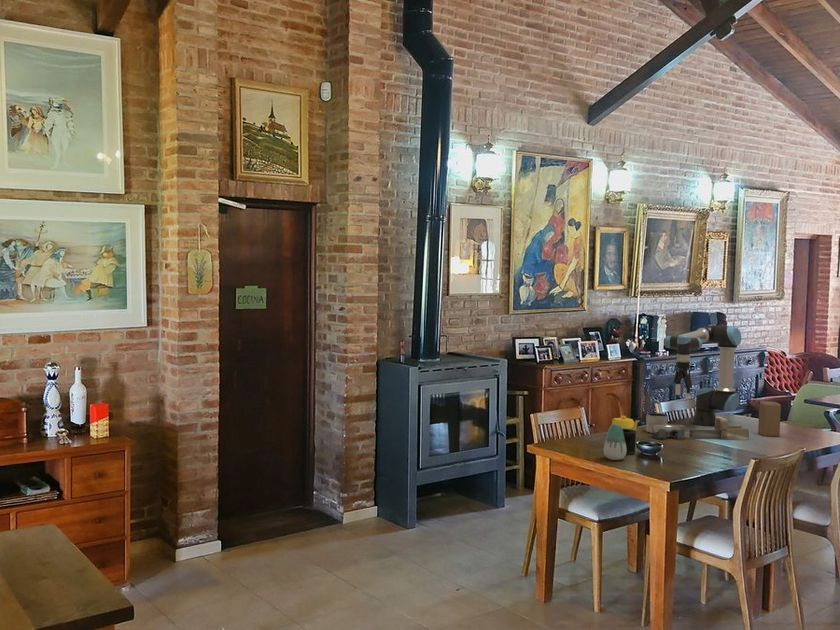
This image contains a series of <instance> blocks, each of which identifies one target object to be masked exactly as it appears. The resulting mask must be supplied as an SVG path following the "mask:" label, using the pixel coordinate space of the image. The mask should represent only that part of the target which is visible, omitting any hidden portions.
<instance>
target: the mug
mask: <svg viewBox="0 0 840 630" xmlns="http://www.w3.org/2000/svg"><path fill="white" fill-rule="evenodd" d="M623 433H624V438H625V443H626V448H627V452H626V455H633V454H635V453H636V435H637V433H638V430H636V431H635V430H632V429H623Z"/></svg>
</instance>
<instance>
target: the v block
mask: <svg viewBox="0 0 840 630" xmlns="http://www.w3.org/2000/svg"><path fill="white" fill-rule="evenodd" d="M651 437H652V438H655V439H656V440H658V441H663V440H664V441H666V440H667V433H666V430H658V433H653V427H652V433H651ZM669 437H671V438H672V437H673V439H674V438H675V440H676V439H677V441H684V440H685V433H684V430H677V433H669Z"/></svg>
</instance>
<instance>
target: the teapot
mask: <svg viewBox="0 0 840 630" xmlns="http://www.w3.org/2000/svg"><path fill="white" fill-rule="evenodd" d="M639 422H640V420H635V421H634V419H633V418H629V417H627V416H626V415H621V417H613V418H612V419H611V425H612V424H613V425H620V426H621V427H622V429H632V430H635V431H637V428H638V423H639Z"/></svg>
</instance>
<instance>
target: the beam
mask: <svg viewBox="0 0 840 630" xmlns="http://www.w3.org/2000/svg"><path fill="white" fill-rule="evenodd" d="M749 436H750V431H749V428H742V426H741V425H728V419H727V418H724V417H723V416H715V426H714V429H689V435H688V437H690V439H692V438H693V439H694V440H695V439H696V440H699V439H700V440H703V439H704V440H713V439H714V440H718V439H719V440H722V441H725V440H727V441H729V440H730V441H732V440H734V441H747V440H750V437H749Z"/></svg>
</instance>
